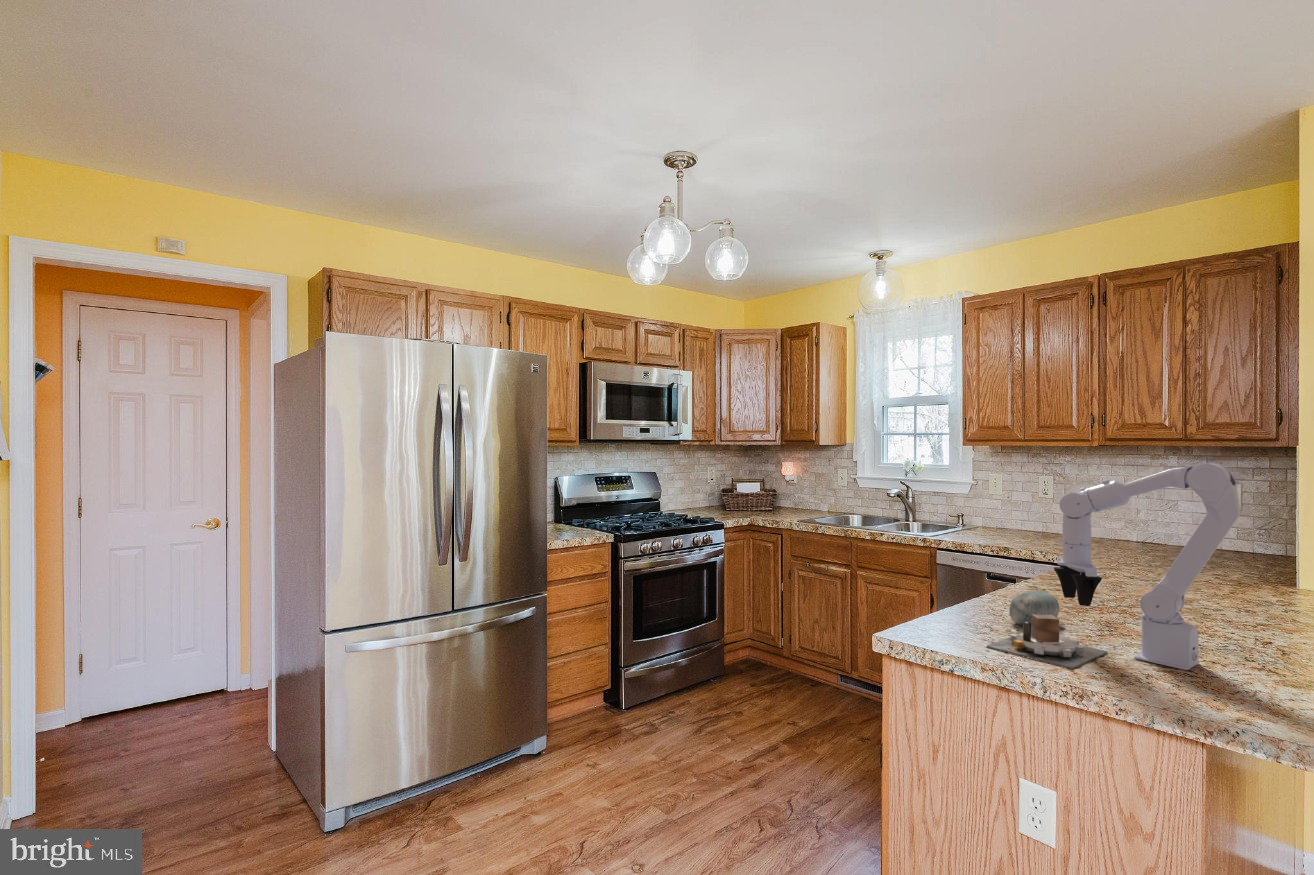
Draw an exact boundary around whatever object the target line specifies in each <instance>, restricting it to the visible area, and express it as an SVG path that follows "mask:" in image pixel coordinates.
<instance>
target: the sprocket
mask: <svg viewBox="0 0 1314 875" xmlns="http://www.w3.org/2000/svg"><path fill="white" fill-rule="evenodd" d="M1010 637H1011V641H1012V642H1014V646H1015V647H1017V648H1023V649H1025V650H1028V651H1032V652H1034V653H1035V654H1040V655H1044V654H1046V655H1056V656H1062V657H1071V655H1074V654H1076V653H1077V654H1083V653H1084V646H1085V645H1082V646H1080V645H1081V644H1080V641H1079V640H1077V639H1075V638H1068V637H1065V636H1061V635H1059V642H1058V641H1038V640H1036V639H1035V638H1033V637H1032V636H1031V623H1030V622H1023V626H1022V632H1021V633H1018V634H1017V633H1012V634H1011V635H1010Z"/></svg>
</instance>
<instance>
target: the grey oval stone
mask: <svg viewBox="0 0 1314 875" xmlns="http://www.w3.org/2000/svg"><path fill="white" fill-rule="evenodd" d="M1059 613H1060V603H1059V601H1058V598H1056V597H1055V595H1053V594H1051V593H1049V592H1046V591H1041V590H1040V591H1039V590H1037V591H1036V590H1031V591H1024V592H1021V593H1018V594H1016V595H1014V597H1013V598H1011V601H1010V604H1009V616H1010V618H1011V620H1012V622H1014V623H1015V624H1017V625H1019V626H1022V627H1023V622H1030V623H1031V614H1036V615H1053V616H1055V617H1056V618H1058V616H1059Z"/></svg>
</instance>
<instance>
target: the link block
mask: <svg viewBox="0 0 1314 875" xmlns="http://www.w3.org/2000/svg"><path fill="white" fill-rule="evenodd" d="M1031 636H1032V637H1033V638H1035V639H1036V640H1038V641H1058V642H1059V636H1060V619H1059V618H1058V617H1055V616H1053V615H1036V614H1031Z"/></svg>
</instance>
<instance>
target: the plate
mask: <svg viewBox="0 0 1314 875" xmlns="http://www.w3.org/2000/svg"><path fill="white" fill-rule="evenodd" d="M1079 645H1080V646H1084V653H1083V654H1077V653H1076V654H1074V655H1071V657H1062V656H1056V655H1046V654H1044V655H1040V654H1035V653H1034V652H1032V651H1028V650H1025V649H1023V648H1017V647H1015V646H1014V642H1012V641H1011V636H1010V637H1008V638H1004V639H1001V640H999V641H996V642H994V643H990V644H988V645H986V648H988V649H991V650H994V651H999V650H1001V651H1000V652H1003V651H1004V653H1006V652H1009V653H1008V654H1010V653H1012V654H1011V655H1014V654H1017V655H1016V656H1018V655H1020V656H1019V657H1022V656H1024V657H1023V658H1026V657H1029V658H1028V659H1030V658H1032V659H1031V660H1034V659H1037V660H1036V661H1038V660H1039V661H1038V662H1042V661H1044V662H1043V663H1045V662H1047V663H1046V664H1049V663H1052V664H1051V665H1053V664H1055V666H1057V665H1059V666H1058V667H1061V666H1063V667H1062V668H1065V667H1066V669H1069V668H1070V669H1069V670H1075V669H1076V668H1078V667H1081V666H1083V665H1085V664H1087V663H1089V661H1090V662H1091V661H1094V660H1096V659H1098V658H1100V657H1102V656H1104V655H1107V654H1108V653H1109V652H1108V650H1105V649H1104V650H1103V649H1099V648H1095V647H1090V646H1086V645H1082V644H1079Z"/></svg>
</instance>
